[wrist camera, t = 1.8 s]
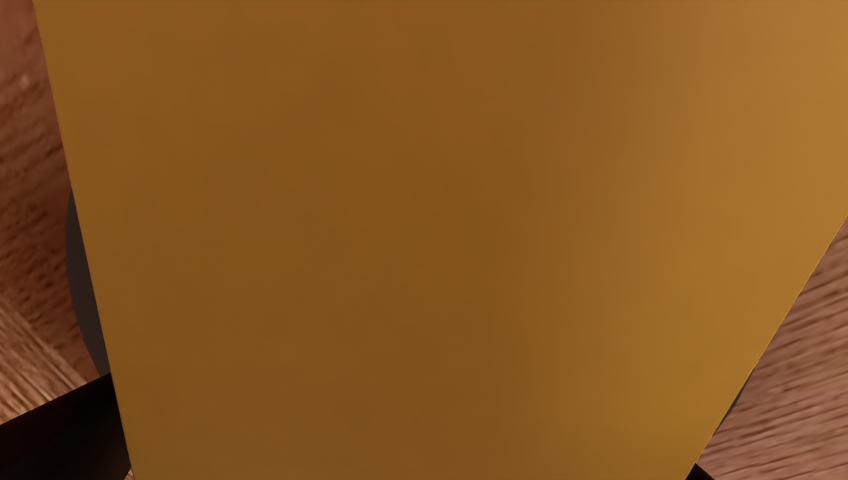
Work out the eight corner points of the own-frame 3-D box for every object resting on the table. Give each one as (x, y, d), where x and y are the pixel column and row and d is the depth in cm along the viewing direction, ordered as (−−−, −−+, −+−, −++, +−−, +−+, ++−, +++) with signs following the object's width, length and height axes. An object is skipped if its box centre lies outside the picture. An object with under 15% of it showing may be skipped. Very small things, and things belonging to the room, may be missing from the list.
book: (496, 572, 12) (514, 758, 9) (253, 538, 11) (182, 714, 8) (705, 30, 6) (988, -5, 3) (232, -49, 6) (-10, -175, 3)
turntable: (607, 545, 13) (623, 592, 12) (149, 479, 13) (120, 521, 12) (885, 42, 7) (971, 38, 6) (41, -101, 7) (-43, -135, 6)
